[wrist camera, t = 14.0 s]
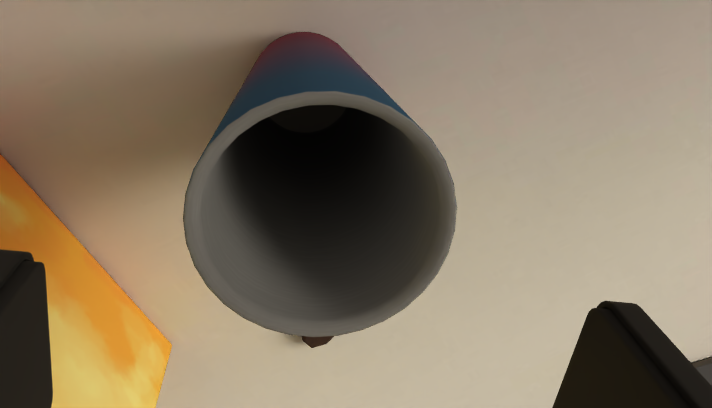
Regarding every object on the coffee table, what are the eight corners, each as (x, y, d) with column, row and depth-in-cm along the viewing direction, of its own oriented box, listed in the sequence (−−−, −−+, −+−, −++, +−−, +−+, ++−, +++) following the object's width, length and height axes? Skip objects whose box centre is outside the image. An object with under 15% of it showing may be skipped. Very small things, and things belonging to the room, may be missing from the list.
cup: (401, 54, 28) (508, 166, 15) (334, 175, 31) (375, 369, 17) (269, -17, 26) (254, 36, 13) (208, 117, 29) (141, 283, 15)
